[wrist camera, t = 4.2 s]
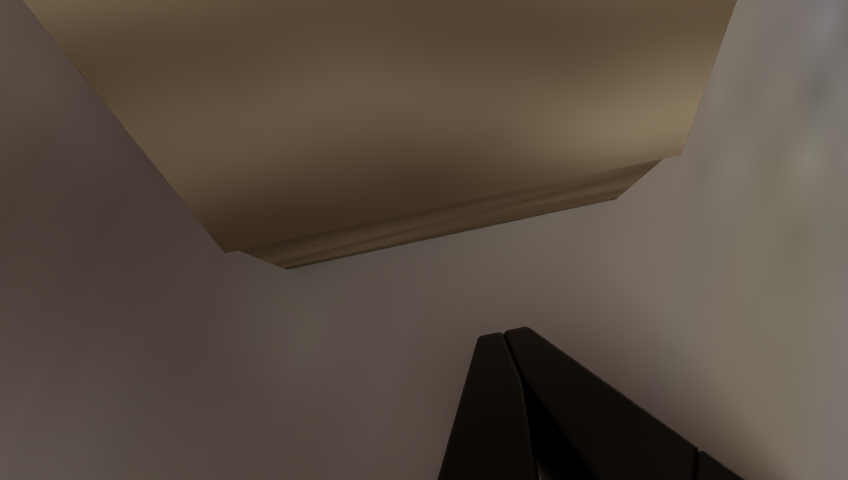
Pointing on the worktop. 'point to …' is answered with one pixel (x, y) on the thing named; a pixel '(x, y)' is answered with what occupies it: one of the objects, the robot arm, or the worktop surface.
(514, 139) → the lid
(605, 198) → the cardboard box
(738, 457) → the worktop surface
